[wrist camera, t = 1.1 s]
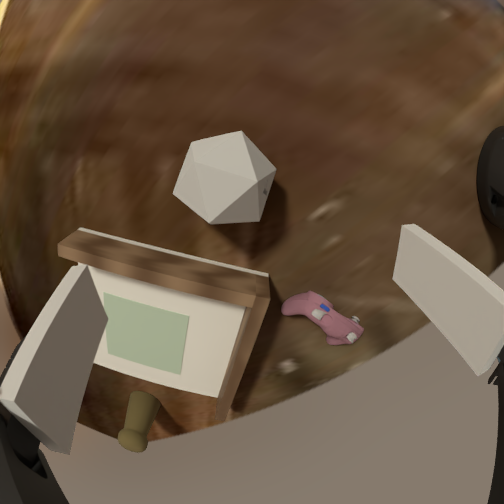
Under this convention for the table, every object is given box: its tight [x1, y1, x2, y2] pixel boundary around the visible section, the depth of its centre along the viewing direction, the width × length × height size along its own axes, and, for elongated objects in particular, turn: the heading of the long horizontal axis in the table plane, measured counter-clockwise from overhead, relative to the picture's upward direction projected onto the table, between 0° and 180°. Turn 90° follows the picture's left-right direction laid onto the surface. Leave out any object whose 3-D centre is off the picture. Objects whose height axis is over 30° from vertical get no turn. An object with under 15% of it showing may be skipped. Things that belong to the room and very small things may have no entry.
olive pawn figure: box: [118, 391, 161, 452], centre depth 40 cm, size 6×6×11 cm
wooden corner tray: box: [58, 228, 270, 421], centre depth 34 cm, size 24×24×5 cm
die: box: [173, 131, 276, 224], centre depth 25 cm, size 8×9×10 cm
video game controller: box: [281, 291, 364, 345], centre depth 33 cm, size 10×5×7 cm, turn 51°
